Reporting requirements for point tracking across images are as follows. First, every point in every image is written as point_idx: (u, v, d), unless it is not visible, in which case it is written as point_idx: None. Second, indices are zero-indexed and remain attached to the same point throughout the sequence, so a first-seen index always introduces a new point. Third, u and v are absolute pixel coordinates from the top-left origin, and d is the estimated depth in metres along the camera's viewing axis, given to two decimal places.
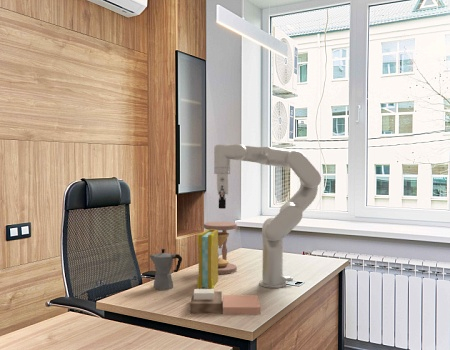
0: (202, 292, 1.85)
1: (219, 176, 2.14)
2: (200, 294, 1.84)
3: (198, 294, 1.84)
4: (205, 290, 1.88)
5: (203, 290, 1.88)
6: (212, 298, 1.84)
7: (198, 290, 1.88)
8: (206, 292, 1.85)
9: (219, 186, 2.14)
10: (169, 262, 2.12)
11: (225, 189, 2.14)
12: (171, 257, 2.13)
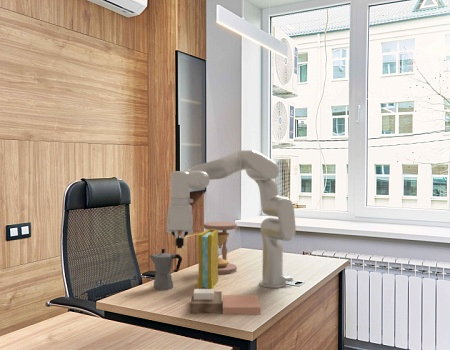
0: (202, 292, 1.85)
1: (190, 208, 1.84)
2: (200, 294, 1.84)
3: (198, 294, 1.84)
4: (205, 290, 1.88)
5: (203, 290, 1.88)
6: (212, 298, 1.84)
7: (198, 290, 1.88)
8: (206, 292, 1.85)
9: (192, 220, 1.85)
10: (169, 262, 2.12)
11: None
12: (171, 257, 2.13)
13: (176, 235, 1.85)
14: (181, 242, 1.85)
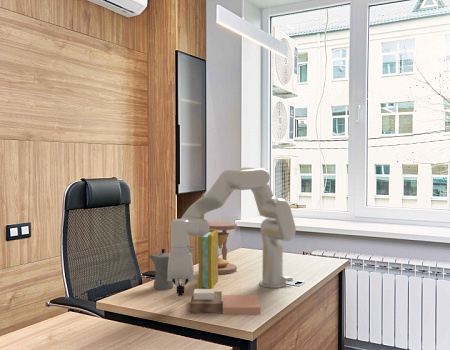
0: (202, 292, 1.85)
1: (191, 256, 1.85)
2: (200, 294, 1.84)
3: (198, 294, 1.84)
4: (205, 290, 1.88)
5: (203, 290, 1.88)
6: (212, 298, 1.84)
7: (198, 290, 1.88)
8: (206, 292, 1.85)
9: (192, 268, 1.85)
10: None
11: None
12: None
13: (177, 283, 1.86)
14: (182, 290, 1.86)
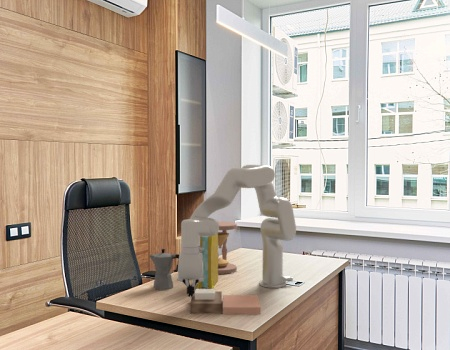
0: (203, 292, 1.85)
1: (201, 257, 1.85)
2: (201, 294, 1.84)
3: (199, 294, 1.84)
4: (206, 290, 1.88)
5: (204, 290, 1.88)
6: (213, 298, 1.84)
7: (199, 290, 1.88)
8: (207, 292, 1.85)
9: (202, 268, 1.85)
10: (169, 262, 2.12)
11: None
12: (171, 257, 2.13)
13: (187, 283, 1.86)
14: (192, 290, 1.86)
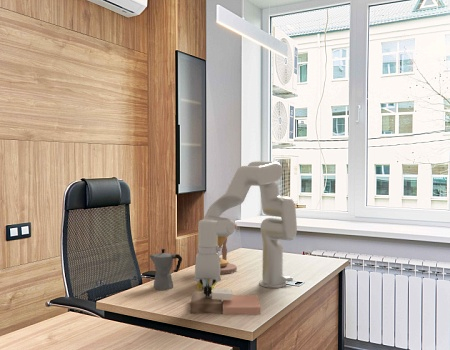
0: (220, 292, 1.85)
1: (218, 257, 1.85)
2: (218, 294, 1.84)
3: (216, 294, 1.84)
4: (223, 290, 1.88)
5: (222, 290, 1.88)
6: (230, 299, 1.84)
7: (216, 290, 1.88)
8: (224, 293, 1.84)
9: (219, 268, 1.86)
10: (169, 262, 2.12)
11: None
12: (171, 257, 2.13)
13: (204, 283, 1.86)
14: (209, 290, 1.86)
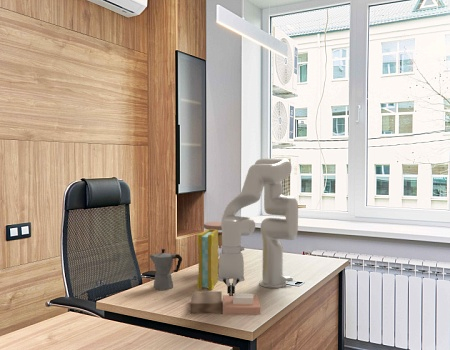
0: (241, 297, 1.84)
1: (242, 256, 1.85)
2: (239, 299, 1.83)
3: (237, 298, 1.83)
4: (244, 295, 1.87)
5: (243, 294, 1.87)
6: (251, 303, 1.83)
7: (237, 294, 1.87)
8: (245, 297, 1.84)
9: (243, 268, 1.85)
10: (169, 262, 2.12)
11: None
12: (171, 257, 2.13)
13: (228, 283, 1.86)
14: (233, 290, 1.86)
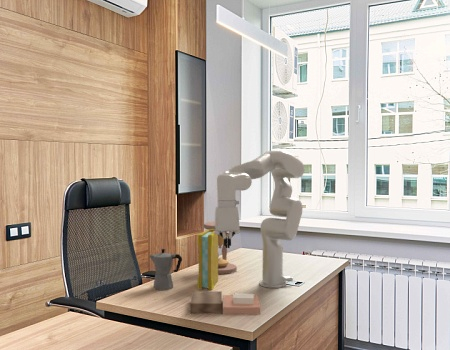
0: (241, 297, 1.84)
1: (237, 209, 1.92)
2: (239, 299, 1.83)
3: (237, 298, 1.83)
4: (244, 295, 1.87)
5: (243, 294, 1.87)
6: (252, 303, 1.83)
7: (237, 294, 1.87)
8: (245, 297, 1.84)
9: None
10: (169, 262, 2.12)
11: None
12: (171, 257, 2.13)
13: (224, 236, 1.93)
14: (229, 242, 1.93)
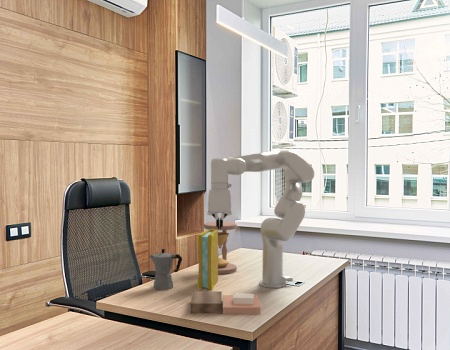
0: (241, 297, 1.84)
1: (229, 192, 2.02)
2: (239, 299, 1.83)
3: (237, 298, 1.83)
4: (244, 295, 1.87)
5: (243, 294, 1.87)
6: (252, 303, 1.83)
7: (237, 294, 1.87)
8: (245, 297, 1.84)
9: (230, 202, 2.03)
10: (169, 262, 2.12)
11: None
12: (171, 257, 2.13)
13: (216, 217, 2.03)
14: (221, 223, 2.03)
